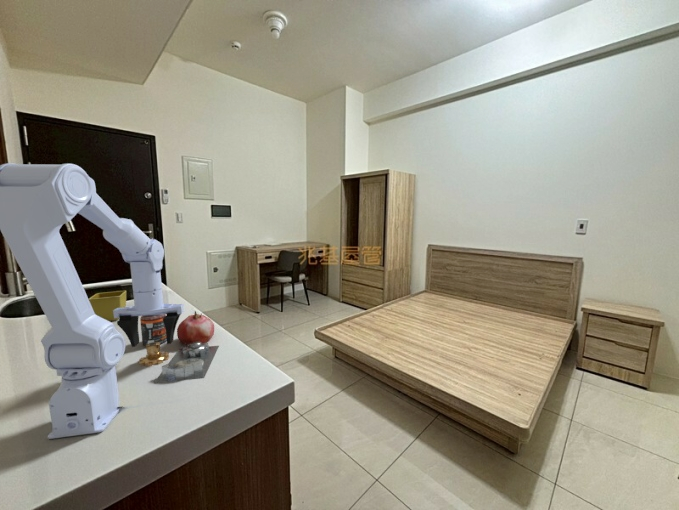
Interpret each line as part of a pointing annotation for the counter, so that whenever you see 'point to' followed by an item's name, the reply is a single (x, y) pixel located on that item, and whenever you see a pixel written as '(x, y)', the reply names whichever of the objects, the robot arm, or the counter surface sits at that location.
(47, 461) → the counter surface
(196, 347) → the sun gear
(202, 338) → the fruit
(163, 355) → the planet gear
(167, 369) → the ring gear segment
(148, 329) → the supplement bottle
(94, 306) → the flower pot
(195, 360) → the carrier plate
